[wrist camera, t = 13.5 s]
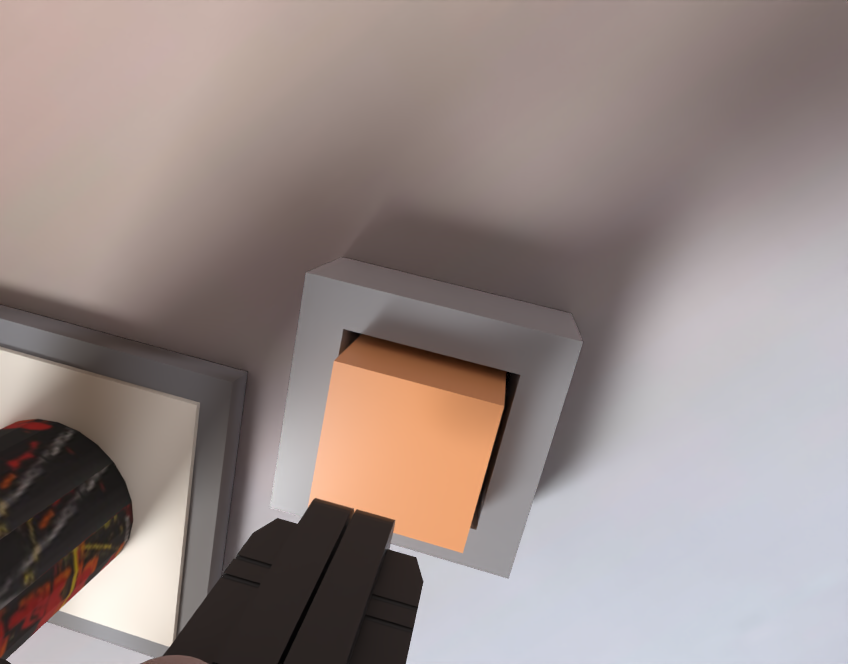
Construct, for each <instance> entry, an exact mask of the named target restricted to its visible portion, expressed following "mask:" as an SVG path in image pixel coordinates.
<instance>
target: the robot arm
mask: <svg viewBox="0 0 848 664" xmlns="http://www.w3.org/2000/svg"><path fill="white" fill-rule="evenodd" d="M394 526H395V520H394V519H390V518H387V517H383V516H379V515H376V514H372V513H369V512H365V511H362V510H358V509H357V510H356V511H355V512H354V508H350V507H347V506H343V505H339V504H336V503H332V502H329V501H325V500H321V499H318V498H314V499H313V501H312V502H311V504H310V505H309V507H308V508H307V510H306V512H305V513H304V515H303V516H302V518H301V520H300V521H299V523H298V524H296V523H293V522H289V521H286V520H282V519H279V518H277V519H275V520H274V521H272V522H270V523H269V524H267V525H265V526H264V527H262V528H260V529H259V530H257V531H255V532H254V533H253V534H252V535H251V536H250V538H249V539H248V541H247V542H246V543H245V545H244V546H243V547H242V549H241V550H240V551H239V553H238V554H237V557H236V559H234V560H233V561H232V562H231V564H230V565H229V566H228V568H227V569H226V571H225V572H224V574H223V577H222V578H221V577H220V579H219V580H218V581H217V583H216V584H215V586H214V587H213V588H212V590H211V591H210V592H209V594H208V595H207V596H206V598H205V599H204V601H203V602H202V603H201V605H200V606H199V607H198V609H197V610H196V611H195V613H194V614H193V616H192V617H191V618H190V620H189V621H188V622H187V624H186V625H185V627H184V628H183V629H182V631H181V632H180V633H179V635H178V636H177V637H176V639H175V640H174V642H173V643H172V644H171V646H170V647H169V648H168V650H167V651H166V652H165V653H164V655H163V656H162V657H157V658H154V659H150V660H148V661H145V662H143V663H141V664H406V660H407V655H408V651H409V646H410V641H411V637H412V632H413V627H414V623H415V618H416V613H417V609H418V604H419V600H420V595H421V590H422V586H423V579H422V576H421V572H420V569H419V565H418V562H417V559H416V557H413V556H409V555H406V554H402V553H399V552H395V551H392V550H389V548H390V544H391V539H392V535H393V531H394ZM0 664H11V663H9V662H8V661H6V660H4V659H1V658H0Z"/></svg>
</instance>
